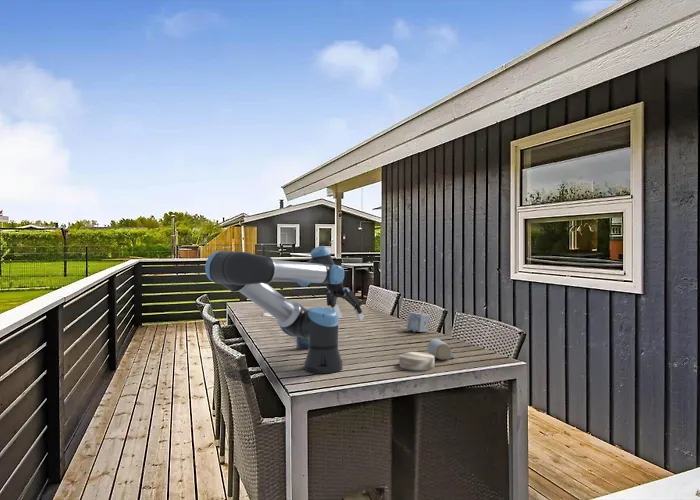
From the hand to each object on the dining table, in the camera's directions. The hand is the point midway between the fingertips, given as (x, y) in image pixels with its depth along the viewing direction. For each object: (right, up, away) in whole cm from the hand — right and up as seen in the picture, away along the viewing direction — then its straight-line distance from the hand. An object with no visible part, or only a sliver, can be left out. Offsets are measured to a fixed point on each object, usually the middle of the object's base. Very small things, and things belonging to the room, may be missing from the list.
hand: (351, 318), depth 213 cm
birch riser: (+26, -16, -24) cm, 39 cm away
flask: (-21, -15, +6) cm, 26 cm away
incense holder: (+37, -14, +43) cm, 59 cm away
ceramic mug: (+39, -15, -12) cm, 44 cm away
